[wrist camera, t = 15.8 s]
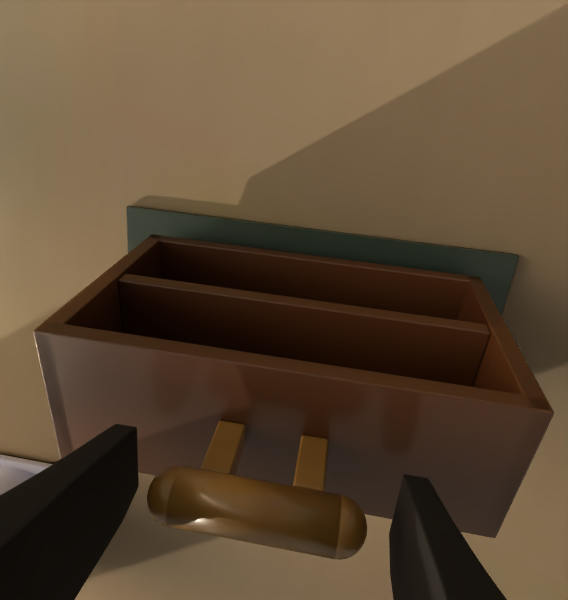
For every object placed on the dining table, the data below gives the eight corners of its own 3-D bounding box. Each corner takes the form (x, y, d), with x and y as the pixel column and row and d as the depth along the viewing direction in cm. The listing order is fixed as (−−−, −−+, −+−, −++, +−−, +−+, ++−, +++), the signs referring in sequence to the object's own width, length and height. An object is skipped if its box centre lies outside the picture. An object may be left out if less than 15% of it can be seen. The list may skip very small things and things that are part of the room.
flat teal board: (128, 205, 21) (117, 209, 20) (517, 254, 19) (526, 261, 18) (132, 335, 23) (122, 344, 22) (478, 388, 22) (484, 401, 21)
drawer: (151, 233, 20) (-59, 404, 10) (480, 276, 18) (616, 523, 9) (157, 330, 22) (-7, 545, 12) (450, 374, 21) (528, 657, 11)
